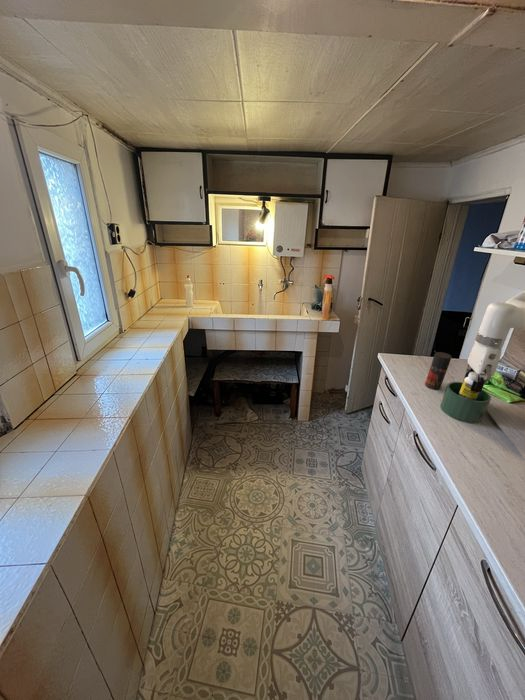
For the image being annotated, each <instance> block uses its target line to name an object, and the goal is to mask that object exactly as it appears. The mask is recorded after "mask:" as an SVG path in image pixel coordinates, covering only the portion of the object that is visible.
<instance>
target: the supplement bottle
mask: <svg viewBox="0 0 525 700" xmlns="http://www.w3.org/2000/svg"><path fill="white" fill-rule="evenodd" d="M481 377H483V375H480V377H479V378H481ZM475 379H476V372H470V373H469V375H468V377H466V378H465V379H464V378H463V380H464V381H462V383H463V384H462V387H461V389H460V392H459V396H461V397H464V398H466V399H470V400H474V401H475V400H476V399H477V396H478V394H479V392H474V391H471V390H470V388H471V386H472V383H473V381H475Z"/></svg>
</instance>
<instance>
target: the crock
mask: <svg viewBox="0 0 525 700" xmlns="http://www.w3.org/2000/svg"><path fill="white" fill-rule="evenodd" d="M462 384H463V381H451V382H449V383H448V384H446V387H445V391H444V393H443V396H442V399H441V400H440V405H439V407H440V409H441V411H442V412H443V413H444V414H445V415H447V416H449V417H450V418H452V419H454V420H457V421H460V422H463V423H468V424H477V423H480V422H481V421H482V420H483V418H484V416H485V414H486V411H487V409H488V406H489V405H490V402H491V401H492V396H491V394H490V393H488V392H487V391H485V390H484V389H483V388H482V391H481V392H479V394H478V396H477V399H476V400H475V401H474V400H470V399H466V398H464V397H461V396H459V392H460V389H461V387H462Z"/></svg>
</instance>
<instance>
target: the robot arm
mask: <svg viewBox="0 0 525 700" xmlns="http://www.w3.org/2000/svg"><path fill="white" fill-rule="evenodd" d="M511 329H515V330H521V331H525V289H524V290H523V291H521V292H519V293H517V294H515V295H514V296H512V297H511V298H509V299H508V300H506V302H500V301H495V302H491V303H489V304H488V305H487V308H486V310H485V313H484V315H483V317H482V320H481V323H480V326H479V329H478V331H477V333H476V337H475V339H474V344H473V345H472V347H471V350H470V352H469V355H468V358H467V368H466V372H465V375H464V378H463V380H462V382H464V379H465V378H466V377H468V375H469V373H470V372H476V379H475V381H473V383H472V386H471V388H470V390H471V391H474V392H481V391H482V389H483V388H484V385H485V384H486V383H487V382H488V381H492V377H493V376H494V375H495V374H496V372H497V368H498V366H499V363H500V360H501V356H502V351H503V349H502V348H503V347H504V345H505V342H506V340H507V338H508V335H509V333H510V330H511ZM480 375H483V377H481V378H479V377H480Z"/></svg>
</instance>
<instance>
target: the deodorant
mask: <svg viewBox="0 0 525 700" xmlns="http://www.w3.org/2000/svg"><path fill="white" fill-rule="evenodd" d="M451 359H452V355H451V354H449V353H446V352H443V351H436V352H434V355H433V358H432V361H431V364H430V368H429V369H428V373H427V376H426V380H425V382H424V386H425V387H426V388H428V389H430V390H433V391H440V390H441V388H442V385H443V382H444V379H445V378H446V374H447V371H448V369H449V365H450V363H451Z"/></svg>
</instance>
